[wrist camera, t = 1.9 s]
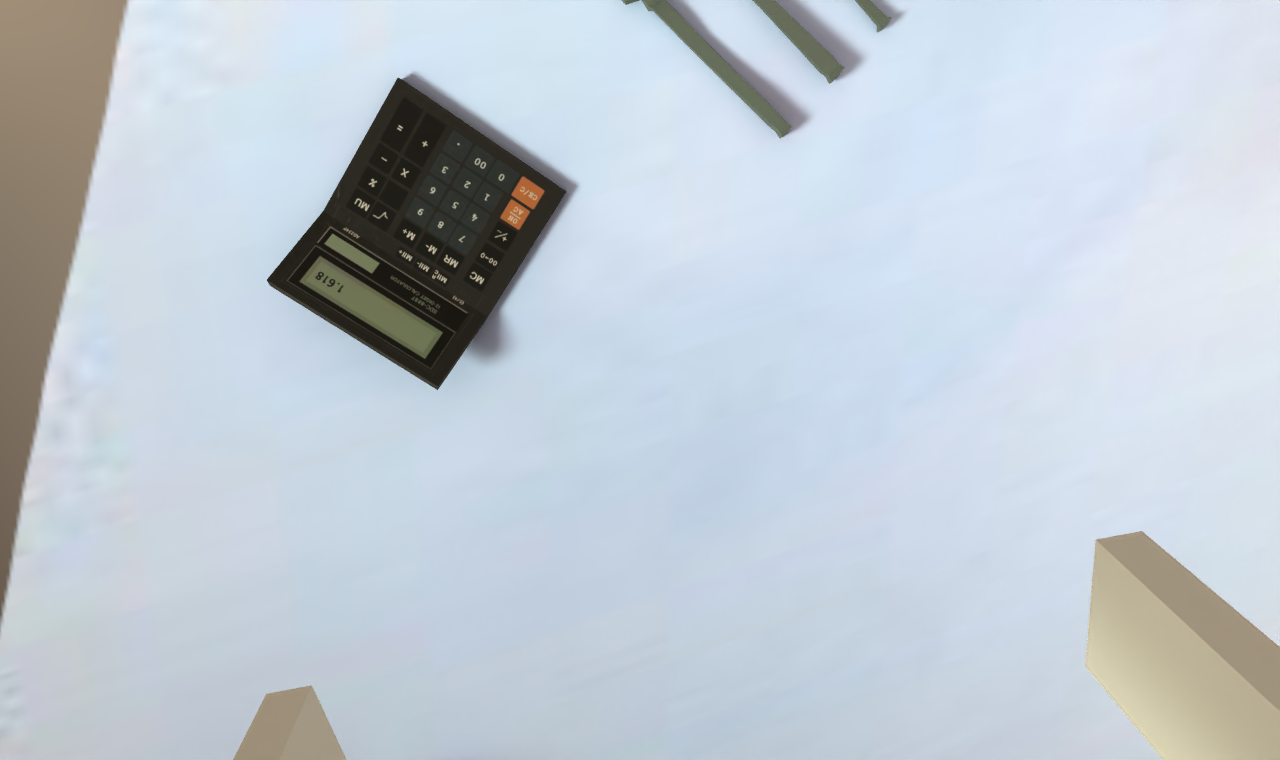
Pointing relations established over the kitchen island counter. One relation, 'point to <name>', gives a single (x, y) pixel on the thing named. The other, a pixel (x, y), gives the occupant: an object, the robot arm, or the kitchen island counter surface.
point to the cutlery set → (786, 24)
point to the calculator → (418, 236)
